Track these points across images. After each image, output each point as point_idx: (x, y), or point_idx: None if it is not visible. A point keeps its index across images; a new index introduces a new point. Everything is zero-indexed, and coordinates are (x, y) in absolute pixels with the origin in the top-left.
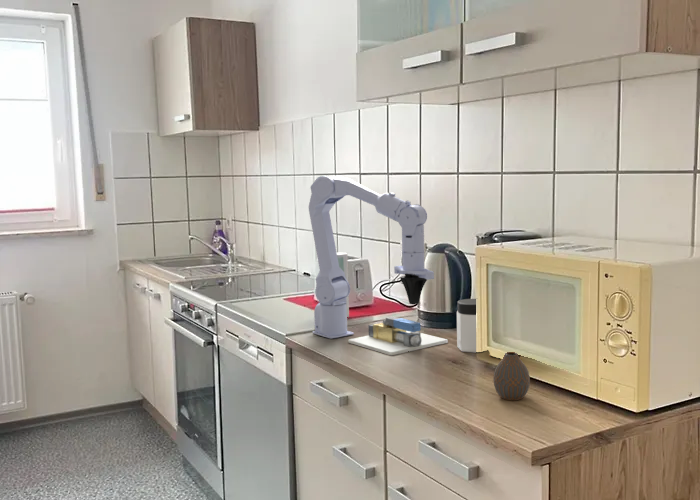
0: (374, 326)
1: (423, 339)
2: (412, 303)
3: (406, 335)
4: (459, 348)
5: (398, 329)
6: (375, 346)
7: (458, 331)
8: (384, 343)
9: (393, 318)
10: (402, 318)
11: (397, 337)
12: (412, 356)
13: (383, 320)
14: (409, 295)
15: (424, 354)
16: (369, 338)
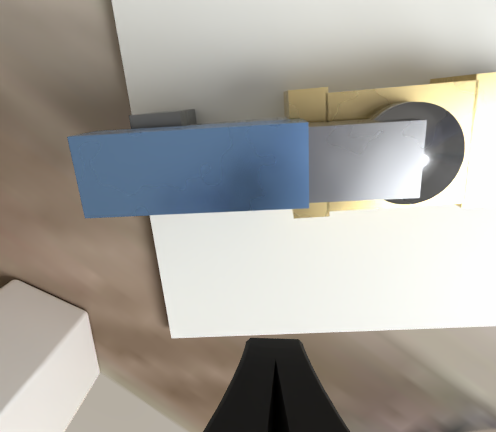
0: (494, 72)
1: (240, 264)
2: (248, 345)
3: (150, 113)
4: (41, 293)
5: None
6: None
7: (5, 347)
8: (303, 47)
9: (358, 160)
10: (296, 208)
11: (263, 119)
12: (43, 50)
13: (453, 123)
14: (282, 403)
15: (49, 124)
16: (470, 44)
